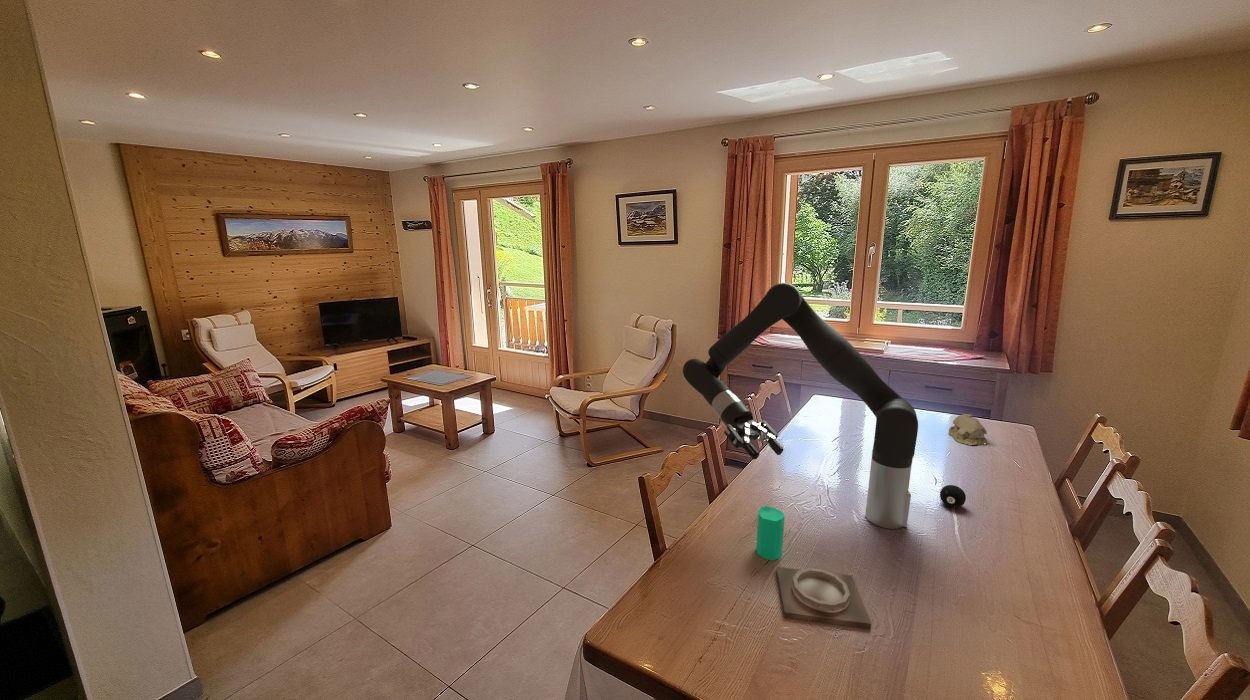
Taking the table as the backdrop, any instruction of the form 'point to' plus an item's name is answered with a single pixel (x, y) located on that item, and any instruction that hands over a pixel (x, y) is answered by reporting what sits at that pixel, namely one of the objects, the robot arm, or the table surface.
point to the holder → (821, 597)
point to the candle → (770, 533)
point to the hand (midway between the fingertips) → (769, 454)
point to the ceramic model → (968, 430)
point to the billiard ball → (952, 496)
